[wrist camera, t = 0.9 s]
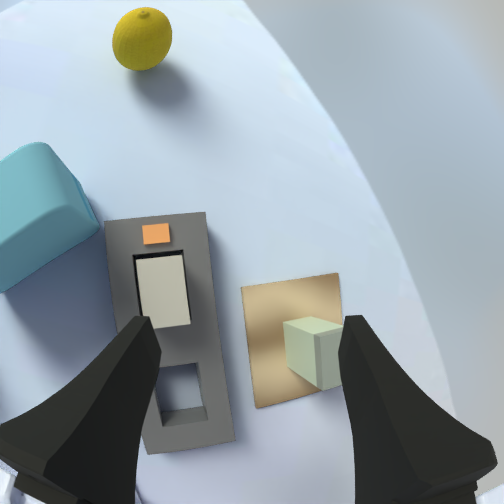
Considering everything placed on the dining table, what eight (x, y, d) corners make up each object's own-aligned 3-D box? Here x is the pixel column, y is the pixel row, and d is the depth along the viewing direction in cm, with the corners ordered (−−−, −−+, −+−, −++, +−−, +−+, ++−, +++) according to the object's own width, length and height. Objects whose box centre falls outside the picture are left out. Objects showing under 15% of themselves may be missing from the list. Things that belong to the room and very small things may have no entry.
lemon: (127, 40, 26) (127, -11, 18) (175, 50, 27) (186, -2, 20) (106, 79, 25) (98, 29, 17) (157, 90, 27) (162, 39, 19)
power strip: (227, 425, 27) (237, 443, 24) (147, 438, 25) (147, 457, 21) (199, 217, 27) (206, 210, 24) (109, 226, 25) (103, 220, 22)
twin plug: (181, 309, 27) (190, 323, 20) (147, 313, 26) (145, 329, 19) (175, 257, 27) (181, 254, 20) (141, 261, 26) (136, 259, 19)
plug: (314, 359, 30) (354, 380, 23) (286, 366, 29) (322, 390, 22) (311, 316, 30) (352, 328, 23) (282, 321, 29) (319, 337, 22)
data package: (83, 185, 24) (40, 132, 13) (103, 229, 25) (66, 203, 13) (-16, 251, 21) (-94, 242, 10) (1, 294, 21) (-74, 309, 10)
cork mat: (342, 381, 31) (344, 382, 31) (255, 406, 28) (256, 408, 28) (336, 272, 31) (338, 273, 31) (240, 287, 28) (242, 287, 28)
